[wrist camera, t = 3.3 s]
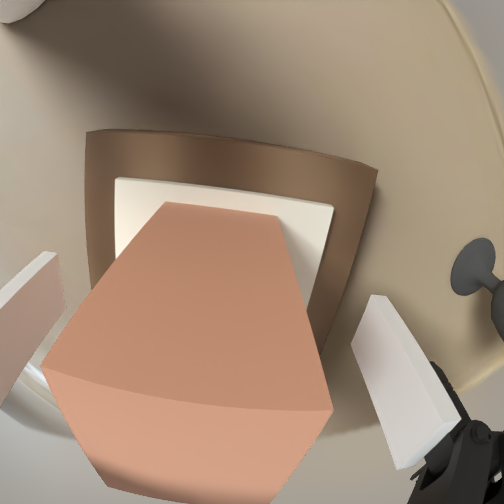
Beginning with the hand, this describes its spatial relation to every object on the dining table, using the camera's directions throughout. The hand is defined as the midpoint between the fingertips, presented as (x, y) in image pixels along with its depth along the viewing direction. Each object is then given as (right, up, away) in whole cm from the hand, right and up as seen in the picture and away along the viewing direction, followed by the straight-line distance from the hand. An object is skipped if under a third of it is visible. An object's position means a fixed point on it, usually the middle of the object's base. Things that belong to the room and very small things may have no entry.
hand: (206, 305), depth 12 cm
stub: (0, +2, +3) cm, 4 cm away
